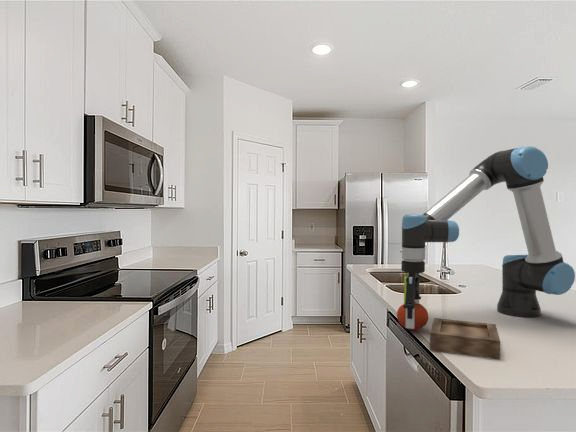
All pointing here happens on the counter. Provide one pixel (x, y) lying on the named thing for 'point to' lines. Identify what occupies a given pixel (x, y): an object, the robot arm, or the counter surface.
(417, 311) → the tomato
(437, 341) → the walnut box
